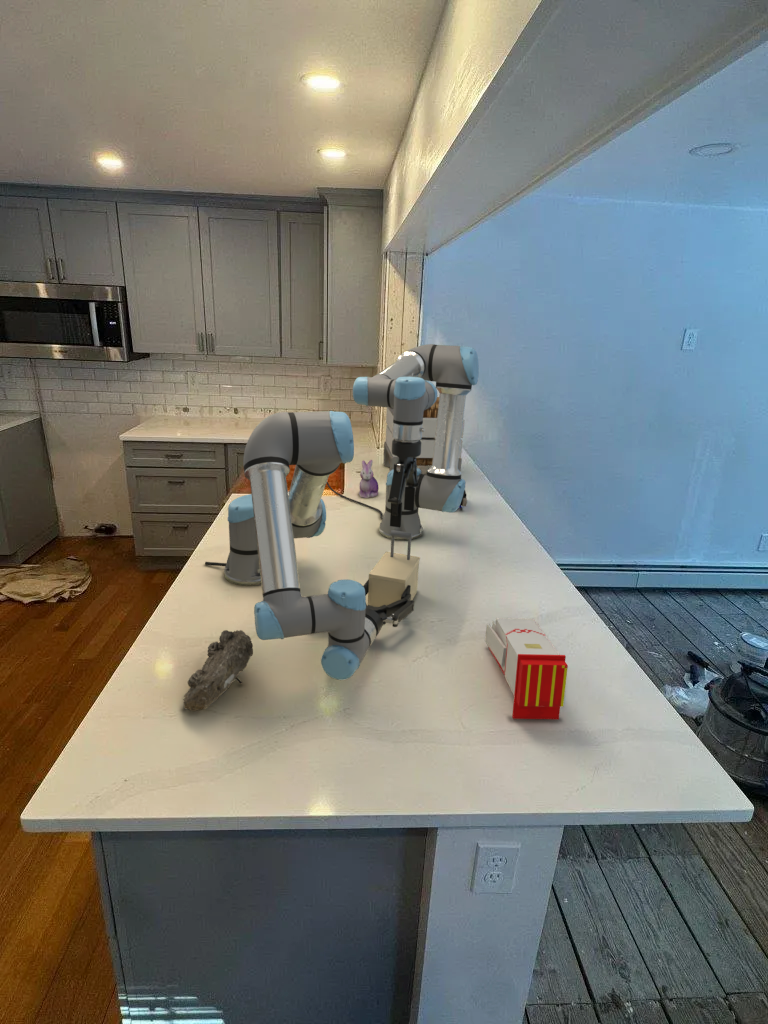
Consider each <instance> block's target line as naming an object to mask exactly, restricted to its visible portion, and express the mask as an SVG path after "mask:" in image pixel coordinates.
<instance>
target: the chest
mask: <svg viewBox="0 0 768 1024" xmlns="http://www.w3.org/2000/svg"><path fill="white" fill-rule="evenodd" d="M419 568H420V561H419V562H418V564H417V565H416V567H415V568H414V570H413V572H412V573H411V575H410V577H409V578H408V580H407V582H406V583H400V582H394V581H388V580H383V579H377V578H372V577H369V576H368V579H369V585H368V594H367V606H368V605H371V606H374V607H380V606H382V605H386V606H387V605H389V604H391V603H393V602H396V601H398V600H400V599H401V596H402V594H403V592H404V591H405V589H406V587H407V586H408V585H410V586H411V587H410V594H411V600H413V601H414V598H415V597H416V595H417V593H418V584H419V583H418V582H419Z"/></svg>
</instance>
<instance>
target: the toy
mask: <svg viewBox="0 0 768 1024" xmlns="http://www.w3.org/2000/svg"><path fill="white" fill-rule="evenodd" d="M484 642H485V643H486V645H487V646H488V650H489V651H490V654H491V655H492V657H493V659H494V660H495V662H496V664H497V666H498V667H499V669H500V671H501V672H502V675H503V676H504V678H505V680H506V682H507V684H508V686H509V688H510V691H511V693H512V694H513V704H512V705H513V706H512V715H511V717H512V719H513V720H560V714H561V708H563V707H564V704H565V695H566V685H567V677H568V668H569V666H568V663H567V662H566V657H567V656H566V654H560V653H559V651H558V650H557V648H556V647H555V646H554V645H553V643H552V642H551V640H550V639H549V638H548V636H547V635H546V634H545V632H544V631H543V629H542V628H541V627H540V625H539V623H537V621H536V620H535V619H534V618H523V617H522V618H521V617H520V618H519V617H516V618H515V617H496V618H495V620H492V622H491V624H490V623H486V629H485V637H484Z"/></svg>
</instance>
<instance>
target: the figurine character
mask: <svg viewBox="0 0 768 1024" xmlns="http://www.w3.org/2000/svg"><path fill="white" fill-rule="evenodd" d="M467 503H468V498H467V492H466V489H465V490H464V494H463V498H462V501H461V503H460V506H459V509H460V511H463V507H464V508H465V507H467Z"/></svg>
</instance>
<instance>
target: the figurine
mask: <svg viewBox="0 0 768 1024" xmlns="http://www.w3.org/2000/svg"><path fill="white" fill-rule="evenodd" d="M373 463H374V461H373V459H370V460H369V461H368V462H366V461H365V460H362V461H361V471H360V473H359V475H360V478H361V480H360V482H359V492H358V495H359V497H360V498H365V499H369V498H374V497H376V496H378V494H379V489H380V488H379V487H380V486H379V482H378V480H377V479H376V478H375V477H374V472H373V468H372V466H373Z"/></svg>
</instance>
